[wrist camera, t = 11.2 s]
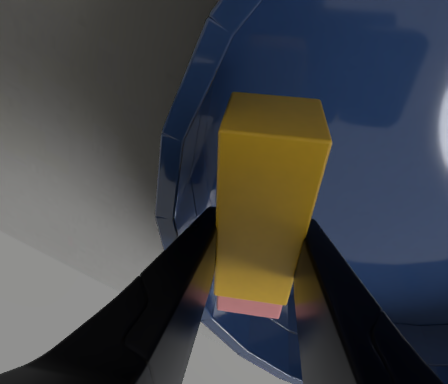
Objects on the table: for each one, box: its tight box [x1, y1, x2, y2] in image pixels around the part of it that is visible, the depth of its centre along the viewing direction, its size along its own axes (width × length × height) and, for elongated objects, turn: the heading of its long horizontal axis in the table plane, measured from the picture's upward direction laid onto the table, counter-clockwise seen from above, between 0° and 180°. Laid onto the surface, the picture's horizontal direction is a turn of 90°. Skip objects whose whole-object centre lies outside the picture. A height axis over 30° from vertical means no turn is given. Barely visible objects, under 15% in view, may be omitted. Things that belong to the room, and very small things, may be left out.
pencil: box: [214, 92, 332, 319], centre depth 10 cm, size 7×2×2 cm, turn 178°
